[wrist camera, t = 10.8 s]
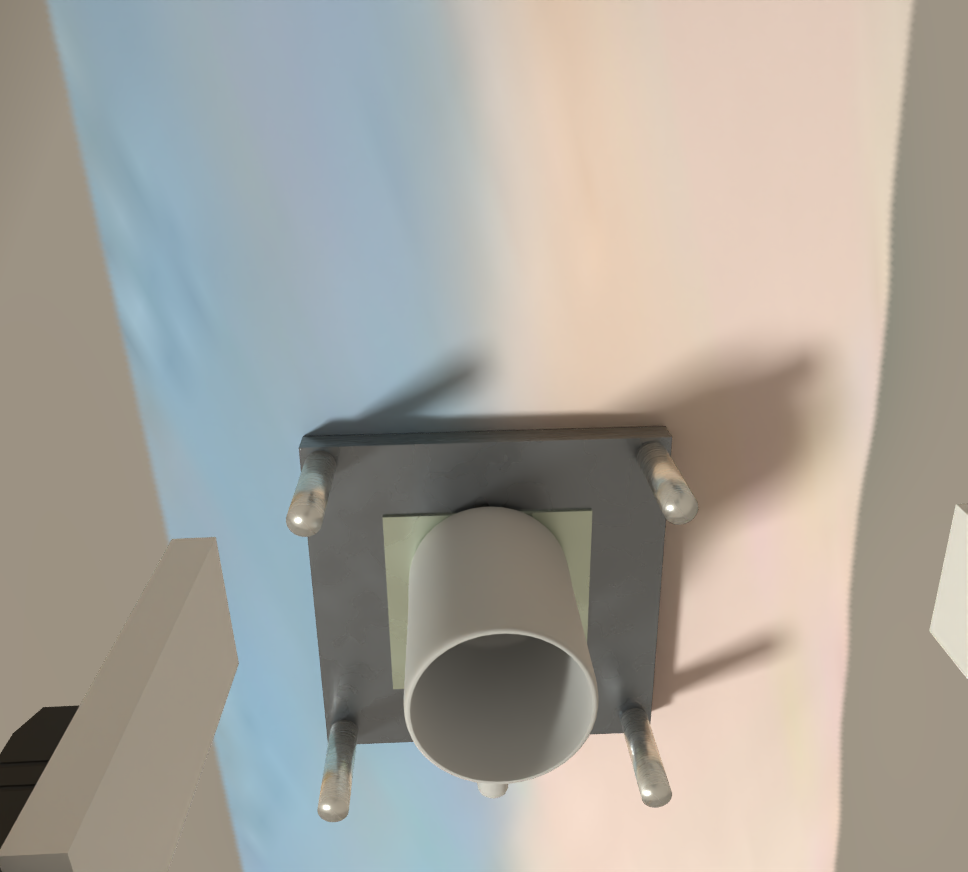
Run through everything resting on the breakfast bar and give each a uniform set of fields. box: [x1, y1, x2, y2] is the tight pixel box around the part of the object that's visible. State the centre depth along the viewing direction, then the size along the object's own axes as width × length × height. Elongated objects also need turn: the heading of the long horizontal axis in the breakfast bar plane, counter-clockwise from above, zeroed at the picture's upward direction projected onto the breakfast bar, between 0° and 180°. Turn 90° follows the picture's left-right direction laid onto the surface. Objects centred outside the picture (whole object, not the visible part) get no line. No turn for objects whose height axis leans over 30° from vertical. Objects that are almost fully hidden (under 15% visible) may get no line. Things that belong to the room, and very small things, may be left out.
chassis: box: [286, 426, 698, 822], centre depth 47 cm, size 19×19×8 cm
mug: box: [404, 506, 598, 798], centre depth 44 cm, size 12×8×11 cm
